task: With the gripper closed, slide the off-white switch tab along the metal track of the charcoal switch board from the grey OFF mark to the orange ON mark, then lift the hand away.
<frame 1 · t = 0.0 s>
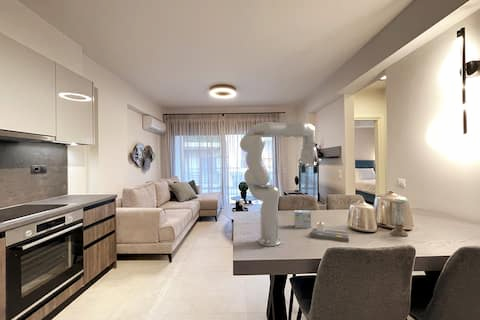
hand: (309, 172, 143), 37 cm above the table, tool pointing down, fingers open, 9 cm apart
switch tab: (320, 226, 136), point 5 cm above the table, slide at 0.0 cm
candle holder: (399, 234, 137), on the table
light bulb box: (302, 227, 155), on the table
switch board: (329, 236, 134), on the table
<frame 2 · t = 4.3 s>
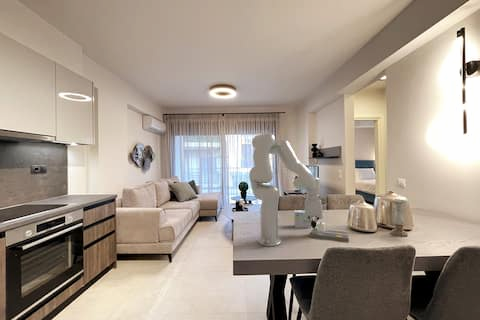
hand: (313, 227, 138), 4 cm above the table, tool pointing down, fingers closed
switch tab: (321, 226, 136), point 5 cm above the table, slide at 0.2 cm, touching gripper
everything else where it was.
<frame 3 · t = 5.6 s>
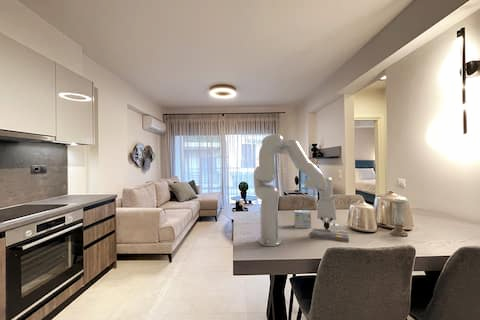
hand: (326, 229, 135), 4 cm above the table, tool pointing down, fingers closed
switch tab: (334, 228, 133), point 5 cm above the table, slide at 7.6 cm, touching gripper
everything else where it was.
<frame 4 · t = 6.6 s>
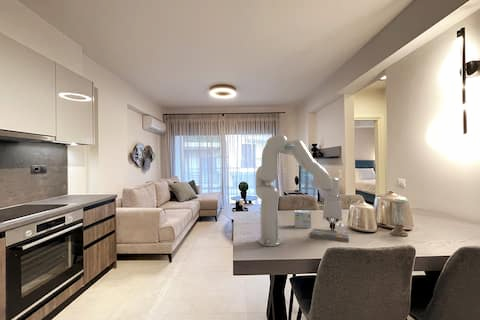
hand: (332, 229, 134), 4 cm above the table, tool pointing down, fingers closed
switch tab: (340, 228, 132), point 5 cm above the table, slide at 10.8 cm, touching gripper
everything else where it was.
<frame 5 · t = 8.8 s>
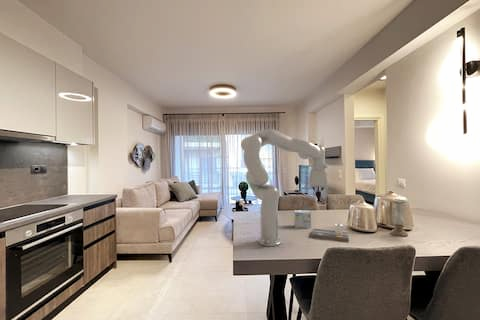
hand: (318, 198, 137), 22 cm above the table, tool pointing down, fingers closed
switch tab: (338, 228, 132), point 5 cm above the table, slide at 10.1 cm
everything else where it was.
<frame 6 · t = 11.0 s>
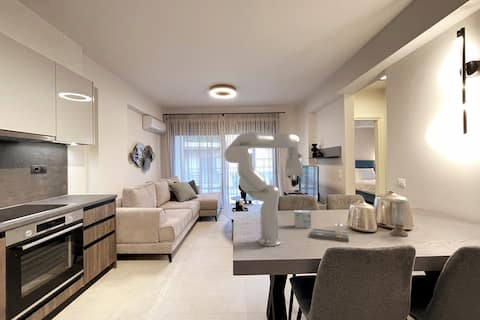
hand: (293, 186, 140), 29 cm above the table, tool pointing down, fingers closed
nothing on the table moved.
at the end: switch tab slide at 10.1 cm; light bulb box moved 0.3 cm from its start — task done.
